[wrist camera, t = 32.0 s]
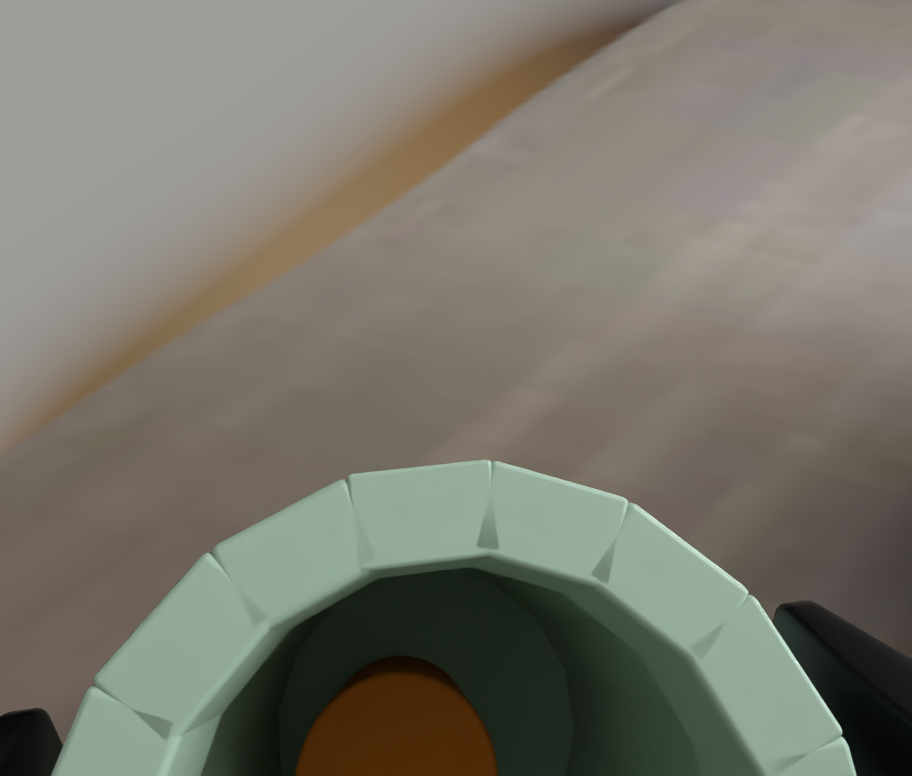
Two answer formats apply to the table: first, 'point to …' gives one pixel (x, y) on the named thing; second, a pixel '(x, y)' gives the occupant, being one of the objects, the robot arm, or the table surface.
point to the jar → (461, 638)
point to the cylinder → (398, 726)
